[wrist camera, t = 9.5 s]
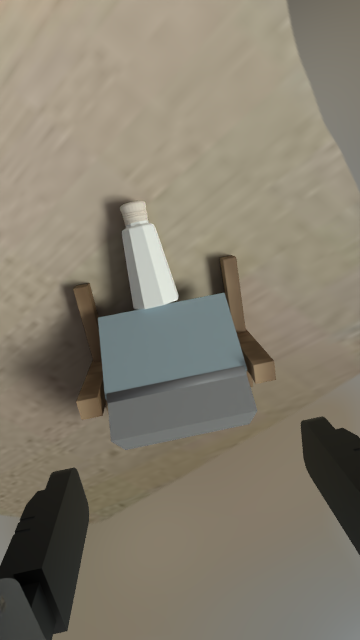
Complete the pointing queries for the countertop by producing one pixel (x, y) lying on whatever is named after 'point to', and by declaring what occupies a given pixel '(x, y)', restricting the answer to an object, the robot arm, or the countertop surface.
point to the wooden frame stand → (93, 386)
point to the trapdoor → (173, 372)
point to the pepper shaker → (145, 260)
